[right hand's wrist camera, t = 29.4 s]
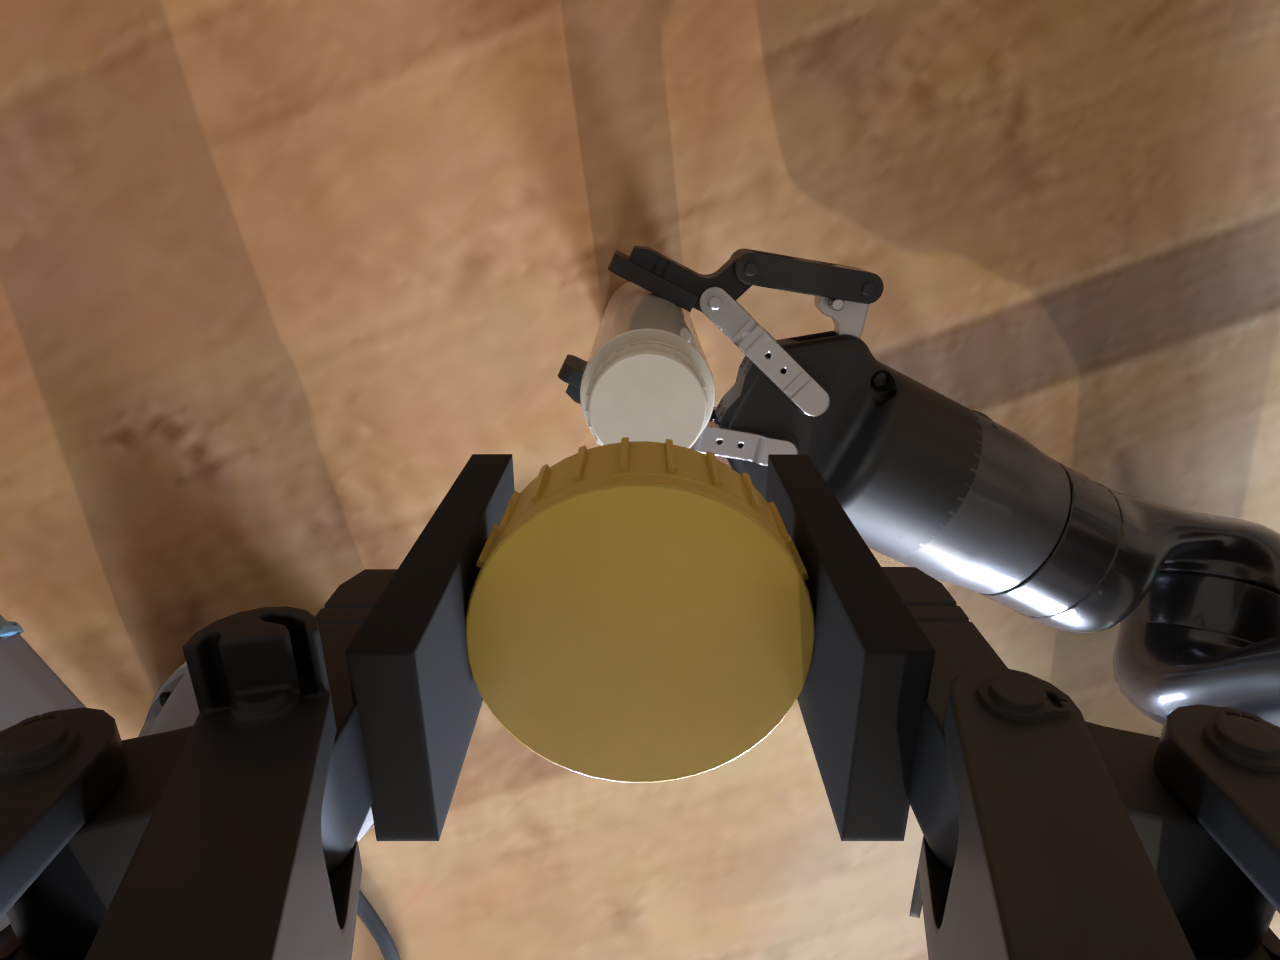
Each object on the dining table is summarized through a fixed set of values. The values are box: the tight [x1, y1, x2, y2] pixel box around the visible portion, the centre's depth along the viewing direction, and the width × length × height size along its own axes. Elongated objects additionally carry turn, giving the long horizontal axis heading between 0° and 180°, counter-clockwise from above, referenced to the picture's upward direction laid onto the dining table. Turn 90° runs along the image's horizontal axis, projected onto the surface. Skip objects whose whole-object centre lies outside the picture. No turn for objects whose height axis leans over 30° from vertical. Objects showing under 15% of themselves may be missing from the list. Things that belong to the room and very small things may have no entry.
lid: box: [466, 437, 815, 783], centre depth 11 cm, size 5×5×2 cm
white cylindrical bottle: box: [580, 281, 715, 448], centre depth 29 cm, size 4×4×17 cm
